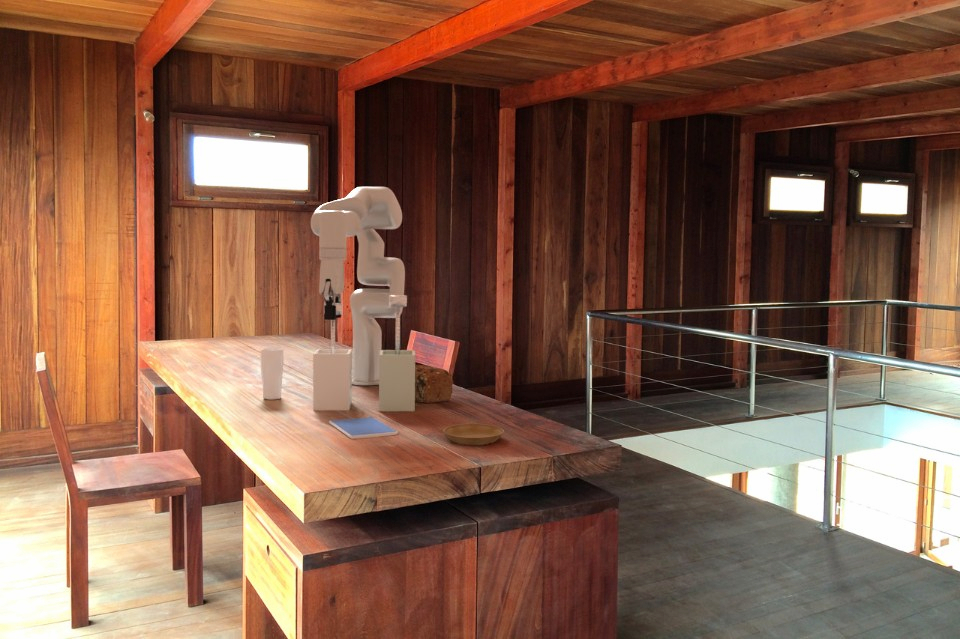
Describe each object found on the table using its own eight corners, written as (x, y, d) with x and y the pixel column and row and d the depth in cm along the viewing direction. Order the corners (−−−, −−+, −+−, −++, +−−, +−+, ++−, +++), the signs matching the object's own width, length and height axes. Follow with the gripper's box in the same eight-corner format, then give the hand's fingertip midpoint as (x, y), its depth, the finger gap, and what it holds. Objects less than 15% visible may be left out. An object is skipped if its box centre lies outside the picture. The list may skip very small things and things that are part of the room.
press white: (317, 403, 237) (317, 349, 236) (351, 403, 238) (351, 349, 236) (313, 410, 227) (313, 353, 226) (349, 410, 228) (349, 354, 227)
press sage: (380, 404, 237) (380, 350, 236) (414, 404, 238) (414, 350, 237) (379, 411, 227) (379, 354, 226) (414, 411, 228) (415, 355, 227)
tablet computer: (327, 424, 213) (327, 419, 213) (373, 420, 218) (373, 415, 218) (350, 441, 196) (350, 436, 195) (399, 436, 201) (399, 431, 201)
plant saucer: (456, 450, 188) (457, 439, 188) (434, 436, 201) (434, 425, 201) (513, 445, 194) (514, 434, 193) (488, 431, 207) (488, 421, 207)
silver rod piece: (384, 365, 235) (384, 294, 233) (410, 365, 236) (411, 294, 234) (383, 369, 228) (384, 296, 226) (410, 369, 228) (411, 296, 226)
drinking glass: (277, 401, 239) (277, 350, 237) (256, 399, 240) (256, 349, 239) (287, 396, 246) (287, 347, 244) (267, 395, 247) (266, 347, 245)
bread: (453, 401, 244) (453, 368, 243) (422, 404, 238) (422, 371, 237) (424, 391, 260) (424, 360, 259) (394, 394, 254) (394, 362, 253)
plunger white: (320, 373, 235) (320, 302, 233) (347, 373, 236) (347, 302, 234) (318, 377, 228) (317, 304, 226) (345, 377, 228) (345, 304, 226)
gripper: (328, 253, 237) (328, 315, 239) (311, 254, 220) (311, 321, 222) (353, 254, 236) (353, 316, 238) (338, 255, 220) (338, 322, 221)
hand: (332, 318), depth 230 cm, fingers closed on plunger white, 5 cm apart
